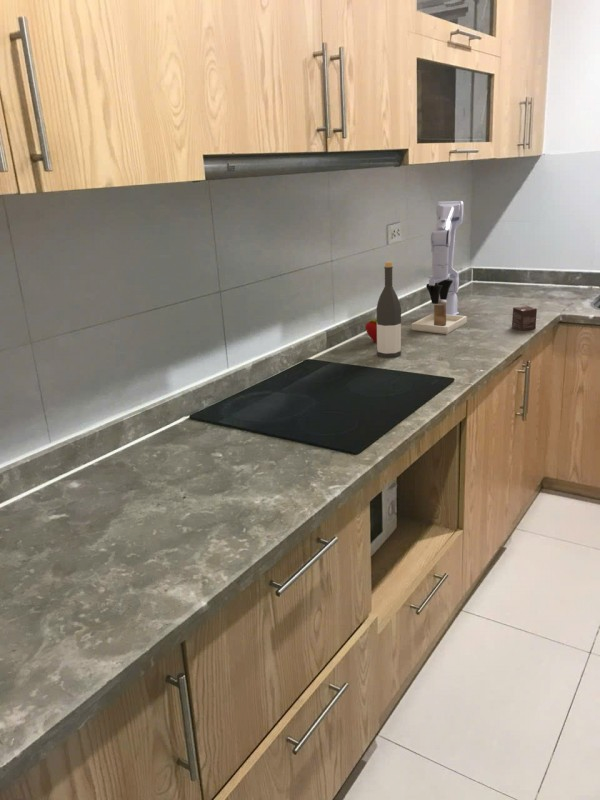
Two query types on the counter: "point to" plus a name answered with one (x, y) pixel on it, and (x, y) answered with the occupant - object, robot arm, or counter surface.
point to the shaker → (440, 313)
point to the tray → (428, 326)
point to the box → (524, 318)
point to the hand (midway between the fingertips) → (439, 301)
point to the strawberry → (372, 329)
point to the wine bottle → (388, 319)
